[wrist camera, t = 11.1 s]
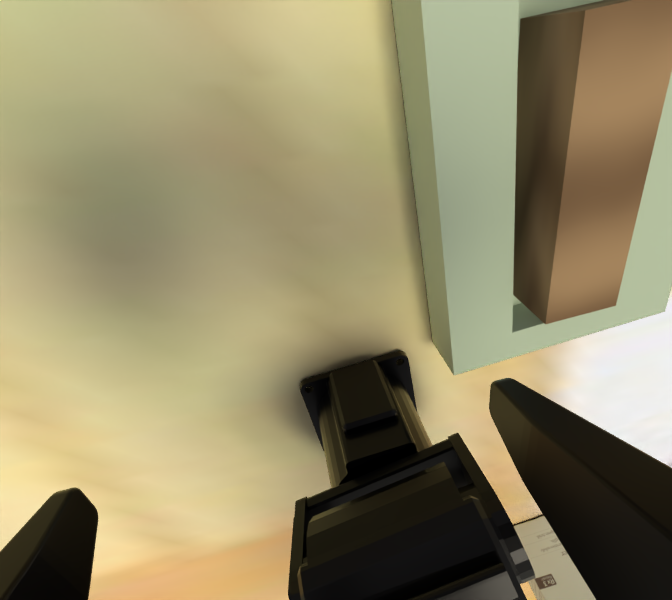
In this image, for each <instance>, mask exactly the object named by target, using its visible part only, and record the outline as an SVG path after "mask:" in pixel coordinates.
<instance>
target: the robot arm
mask: <svg viewBox="0 0 672 600" xmlns="http://www.w3.org/2000/svg"><path fill="white" fill-rule="evenodd" d="M398 359H401V360H399V361H397V360H398ZM308 386H312V387H310V388H306V387H308ZM300 390H301V394H302V396H303V399H304V401H305V404H306V407H307V409H308V412H309V414H310V417H311V420H312V422H313V425H314V427H315V430H316V432H317V435H318V438H319V440H320V443H321V445H322V448H323V450H324V452H325V456H326V462H327V467H328V472H329V478H330V483H331V489H328V490H326V491H324V492H321V493H319V494H316V495H314V496H312V497H309V498H307V497H304V498H302V499H300V500H297V501H296V505H295V517H294V522H293V535H292V548H291V560H290V573H289V586H288V596H289V600H527V599H526V597H525V595H524V593H523V590H522V588H521V586H520V584H521V583H525V582H527V581H530V580H532V579H535V573H534V570H533V567H532V565H531V563H530V560H529V558H528V556H527V554H526V551H525V549H524V547H523V545H522V543H521V541H520V539H519V537H518V535H517V533H516V531H515V529H514V527H513V525H512V523H511V521H510V519H509V517H508V515H507V513H506V511H505V509H504V508H503V506H502V504H501V502H500V500H499V499H498V497H497V495H496V494H495V492H494V490H493V488H492V487H491V485H490V484H489V482H488V480H487V479H486V477H485V476H484V474H483V472H482V471H481V469H480V467H479V466H478V464H477V463H476V461H475V459H474V458H473V456H472V455H471V453H470V451H469V450H468V448H467V446H466V445H465V443H464V442H463V440H462V438H461V437H460V435H459V434H458V433H456V434H454V435H451V436H449V437H448V439H447V440H444V441H442V442H440V443H437V444H435V445H432V444H431V442H430V439H429V437H428V435H427V433H426V431H425V429H424V426H423V424H422V422H421V420H420V418H419V416H418V414H417V409H416V403H415V397H414V391H413V385H412V379H411V373H410V367H409V361H408V358H407V356H406V354H405V353H404V352H402V351H397V352H393V353H390V354H387V355H383V356H380V357H377V358H373V359H370V360H367V361H363V362H360V363H357V364H353V365H350V366H347V367H343V368H340V369H337V370H333V371H330V372H327V373H323V374H320V375H317V376H313V377H310V378H307V379H304V380H303V381H302V382H301V383H300ZM489 409H490V414H491V417H492V419H493V421H494V423H495V425H496V427H497V429H498V431H499V433H500V435H501V437H502V439H503V442H504V444H505V446H506V448H507V450H508V452H509V454H510V456H511V458H512V460H513V462H514V464H515V466H516V468H517V470H518V472H519V474H520V476H521V478H522V480H523V482H524V484H525V485H526V487H527V489H528V490H529V492H530V494H531V495H532V497H533V499H534V500H535V502H536V503H537V505H538V507H539V508H540V510H541V512H542V513H543V515H544V516H545V518H546V520H547V521H548V523H549V524H550V526H551V528H552V529H553V531H554V532H555V534H556V536H557V537H558V539H559V541H560V542H561V544H562V545H563V547H564V549H565V550H566V552H567V553H568V555H569V557H570V558H571V560H572V562H573V563H574V565H575V566H576V568H577V570H578V571H579V573H580V574H581V576H582V578H583V579H584V581H585V583H586V584H587V586H588V587H589V589H590V591H591V592H592V594H593V595H594V597H595V599H596V600H672V468H671V467H669V466H667V465H666V464H664V463H662V462H660V461H659V460H657V459H655V458H653V457H651V456H650V455H648V454H646V453H644V452H642V451H641V450H639V449H637V448H635V447H634V446H632V445H630V444H628V443H626V442H625V441H623V440H621V439H619V438H617V437H616V436H614V435H612V434H610V433H609V432H607V431H605V430H603V429H601V428H600V427H598V426H596V425H594V424H592V423H591V422H589V421H587V420H585V419H584V418H582V417H580V416H578V415H576V414H575V413H573V412H571V411H569V410H567V409H566V408H564V407H562V406H560V405H559V404H557V403H555V402H553V401H551V400H550V399H548V398H546V397H544V396H543V395H541V394H539V393H537V392H535V391H534V390H532V389H530V388H528V387H526V386H525V385H523V384H521V383H519V382H518V381H516V380H514V379H511V378H505V379H501V380H497V381H494V382H492V384H491V389H490V403H489ZM97 525H98V513H97V510H96V508H95V506H94V505H93V504H92V503H91V501H90V500H89V499H88V498H87V497H86V496H85V494H84V493H83V492H82V491H81V490H80V489H78V488H70V489H66V490H62V491H58V492H56V493H54V494H53V495H52V496H51V497H50V498H49V499H48V500H47V501H46V502H45V503H44V504H43V505H42V507H41V508H40V509H39V510H38V511H37V512H36V513H35V514H34V515H33V516H32V517H31V519H30V520H29V521H28V522H27V523H26V524H25V525H24V526H23V527H22V528H21V530H20V531H19V532H18V533H17V534H16V535H15V536H14V537H13V538H12V539H11V541H10V542H9V543H8V544H7V545H6V546H5V547H4V548H3V549H2V550H1V551H0V600H88V596H89V590H90V582H91V574H92V566H93V558H94V550H95V542H96V534H97Z"/></svg>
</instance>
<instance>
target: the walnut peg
mask: <svg viewBox="0 0 672 600" xmlns="http://www.w3.org/2000/svg"><path fill="white" fill-rule="evenodd" d="M671 72H672V0H603V1H598V2H594V3H589V4H584V5H580V6H575V7H571V8H566V9H562V10H557V11H553V12H548V13H543V14H539V15H534V16H530V17H525V18H521V19H520V35H519V52H518V71H517V122H516V172H515V223H514V274H513V295H514V296H515V297H516V298H517V299H518V300H519V301H520V302H522V303H523V304H524V305H525V306H526V307H527V308H528V309H529V310H530V311H531V312H532V313H533V314H535V315H536V316H537V317H538V318H539V319H540V320H541V321H542V322H543V323H544V324H549V323H553V322H557V321H561V320H564V319H568V318H572V317H576V316H579V315H583V314H587V313H591V312H594V311H598V310H602V309H606V308H609V307H613V306H616V303H617V299H618V295H619V291H620V286H621V282H622V278H623V274H624V270H625V265H626V261H627V257H628V253H629V249H630V244H631V240H632V236H633V232H634V228H635V223H636V219H637V215H638V211H639V207H640V202H641V198H642V194H643V190H644V185H645V181H646V177H647V173H648V169H649V164H650V160H651V156H652V152H653V148H654V143H655V139H656V135H657V131H658V127H659V122H660V118H661V114H662V110H663V106H664V101H665V97H666V93H667V89H668V85H669V80H670V76H671Z"/></svg>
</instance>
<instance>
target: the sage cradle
mask: <svg viewBox="0 0 672 600" xmlns="http://www.w3.org/2000/svg"><path fill="white" fill-rule="evenodd" d="M391 1H392V10H393V18H394V26H395V35H396V43H397V51H398V60H399V68H400V76H401V84H402V93H403V101H404V109H405V118H406V126H407V134H408V142H409V151H410V159H411V167H412V176H413V184H414V192H415V200H416V209H417V217H418V225H419V234H420V242H421V250H422V258H423V267H424V275H425V283H426V292H427V300H428V308H429V317H430V325H431V333H432V341H433V343H434V345H435V346H436V348H437V349H438V351H439V353H440V354H441V356H442V357H443V359H444V361H445V362H446V364H447V365H448V367H449V368H450V370H451V372H452V373H453V375H457V374H460V373H464V372H467V371H470V370H474V369H477V368H480V367H483V366H487V365H490V364H493V363H497V362H500V361H503V360H507V359H510V358H513V357H516V356H520V355H523V354H526V353H530V352H533V351H536V350H539V349H543V348H546V347H549V346H553V345H556V344H559V343H563V342H566V341H569V340H572V339H576V338H579V337H582V336H586V335H589V334H592V333H595V332H599V331H602V330H605V329H609V328H612V327H615V326H619V325H622V324H625V323H628V322H632V321H635V320H638V319H642V318H645V317H648V316H652V315H655V314H658V313H661V312H665V309H666V305H667V302H668V298H669V294H670V291H671V287H672V72H671V76H670V80H669V85H668V89H667V93H666V97H665V101H664V106H663V110H662V114H661V118H660V122H659V127H658V131H657V135H656V139H655V143H654V148H653V152H652V156H651V160H650V164H649V169H648V173H647V177H646V181H645V185H644V190H643V194H642V198H641V202H640V207H639V211H638V215H637V219H636V223H635V228H634V232H633V236H632V240H631V244H630V249H629V253H628V257H627V261H626V265H625V270H624V274H623V278H622V282H621V286H620V291H619V295H618V299H617V303H616V306H613V307H609V308H606V309H602V310H598V311H594V312H591V313H587V314H583V315H579V316H576V317H572V318H568V319H564V320H561V321H557V322H553V323H549V324H544V323H543V322H542V321H541V320H540V319H539V318H538V317H537V316H536V315H535V314H533V313H532V312H531V311H530V310H529V309H528V308H527V307H526V306H525V305H524V304H523V303H522V302H520V301H519V300H518V299H517V298H516V297H515V296H514V295H513V274H514V223H515V172H516V122H517V71H518V52H519V35H520V19H521V18H525V17H530V16H534V15H539V14H543V13H548V12H553V11H557V10H562V9H566V8H571V7H575V6H580V5H584V4H589V3H594V2H598V1H603V0H391Z"/></svg>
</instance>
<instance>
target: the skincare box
mask: <svg viewBox="0 0 672 600" xmlns="http://www.w3.org/2000/svg"><path fill="white" fill-rule="evenodd" d="M513 527H514V529H515V531H516V533H517V535H518V537H519V539H520V541H521V543H522V545H523V547H524V549H525V551H526V554H527V556H528V558H529V560H530V563H531V565H532V567H533V570H534V573H535V579H532V580H530V581H528V583H529V585H530V587H531V589H532V591H533V593H534V595H535V597H536V599H537V600H596V599H595V597H594V595H593V594H592V592H591V591H590V589H589V587H588V586H587V584H586V583H585V581H584V579H583V578H582V576H581V574H580V573H579V571H578V570H577V568H576V566H575V565H574V563H573V562H572V560H571V558H570V557H569V555H568V553H567V552H566V550H565V549H564V547H563V545H562V544H561V542H560V541H559V539H558V537H557V536H556V534H555V532H554V531H553V529H552V528H551V526H550V524H549V523H548V521H547V520H546V518H545V516H541V517H539V518H536V519H534V520H531V521H528V522H525V523H522V524H518V525H515V526H513Z"/></svg>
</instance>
